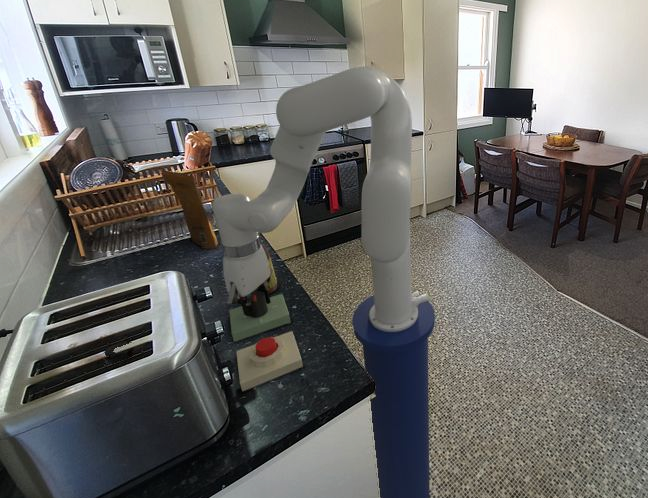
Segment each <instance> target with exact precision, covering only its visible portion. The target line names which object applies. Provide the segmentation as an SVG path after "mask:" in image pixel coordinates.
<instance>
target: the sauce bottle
mask: <svg viewBox="0 0 648 498" xmlns="http://www.w3.org/2000/svg"><path fill="white" fill-rule="evenodd" d="M260 237H261V236H259V242H260V244H261V245H262V247H263V249H264V251H265V254H266V256H267V259H268V263H269V267H271V268H272V269H273V273H272V275H271V277H270V281H269V289H268V292H269V295H270V294H272V293H274V292H275V291H277V289H278V279H277V277H276V273H275V269H274V266H273V263H272V258H271V255H270V253H269V248H268V247H267V245H266V244H264V243H263V242H262V240H261V238H260ZM257 288H258V287H257ZM257 288H256V289H257ZM256 289H255V290H254V291H256Z"/></svg>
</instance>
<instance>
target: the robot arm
mask: <svg viewBox="0 0 648 498" xmlns="http://www.w3.org/2000/svg"><path fill="white" fill-rule="evenodd" d="M275 115H276V119H277V122H278V124H279V127H278V129H277V132H276V134H275V137H274V139H273V141H272V144H271V145H270V149H269V154H270V155H271V157H272V158H273V160H274V161H275V164H274V169H273V172H272V175H271V177H270V180H269V181H268V184H267V186H266V188H265V189H264V191H262V192H261V193H260V194H259V195H257V197H255V198H253V199H250V198H249V197H248V196H247V195H246V194H243V193H228V194H224V195H221V196H219V197H217V198H215V199H214V200H213V202H212V204H211V207H212V213H213V216H214V220H215V223H216V227H217V230H218V234H219V237H220V242H221V244H222V248H223V252H224V256H223V258H222V274H223V278H224V279H223V280H224V284H225V287H226V291H227V294H228V297H227V301H226V302H227V304H229V305H241V306H242V309H243V312H244V315H245V316H250V317H255V316H256V311H255V307H254V303H251V292H254V291H255V289H256V288H257V287H258V288H257V289H256V291H262V292H264V294H265V298H266V303H267V304H269V303H270V302H271V301H270V297H271V296H270V294H269V292H268V289H269V281H270V277H271V275H272V273H273V269H274V268H273V269H272V268H271V267H269V263H268V259H267V256H266V254H265V251H264V249H263V247H262V245H261V244H260V242H259V237H261V236H260V235H261V234H268V233H271V232H273V231H275V230H276V229H277V228H278V227H279V226H280V224H281V223H282V222H283V221H284V220H285V218H286V217H287V216H288V215H289V214H290V213H291V212H292V210H293V208H294V207H295V205H296V203H297V201H298V198H299V196H300V195H301V192H302V190H303V188H304V186H305V183H306V180H307V178H308V175H309V173H310V169H311V166H312V164H313V161H314V159H315V157H316V155H317V153H318V151H319V148H320V146H321V144H322V141H323V139H324V138H325V135H326V134H327V132H328V131H329V132H330V131H331V130H335V129H337V128H340V127H344V126H346V125H349V124H353V123H356V122H359V121H362V120H364V119H367V118H369V117H370V125H371V126H370V162H369V168H368V171H367V173H366V175H365V178H364V180H363V183H362V188H361V229H360V230H361V231H360V233H361V234H360V235H361V245H362V248H363V250H364V253H366V255H367V256H368V257H369V259H370V267H371V268H370V269H371V279H372V290H373V295H374V305H373V307H372V308H371V310H370V313H369V318H370V322H371V324H372V325H373V326H374V327H375V328H377V329H379V330H381V331H385V332H398V331H402V330H405V329H407V328H409V327H410V326H412V325H413V324H414V323H415V322H416V320H417V318H418V308H417V306H418V305H419V304H420V303H424V302H426V301H429V299H430V298H429V295H428V294H427V293H424V294H422V295H421V294H420V292H419V291H418V290H417V291H412V264H411V263H412V262H411V261H412V260H411V259H412V258H411V257H412V255H411V207H412V206H411V205H412V190H413V189H412V188H413V180H412V167H411V166H412V147H413V144H412V143H413V142H412V139H413V118H412V117H413V116H412V111H411V107H410V103H409V99H408V97H407V95H406V94H405V91H404V89H403V88H402V87H401V86H400V85H399V84H398V82H397V81H396V80H395V79H394V78H393V77H391V76H390V75H388V74H387V73H386V72H384V71H383V70H380V69H379V68H377V67H373V66H368V65H363V66H357V67H352V68H349V69H346V70H343V71H339V72H337V73H335V74H331V75H329V76H326V77H324V78H321V79H318V80H315V81H311V82H310V83H306V84H303V85H299V86H296V87H292V88H290V89H287V90H286V91H284V93H282V94H281V96H280V97H279V98H278V100H277V103H276V108H275ZM412 292H414V293H412ZM420 295H421V296H420ZM418 296H420V297H418ZM416 297H417V298H416Z"/></svg>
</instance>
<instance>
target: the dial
mask: <svg viewBox="0 0 648 498" xmlns="http://www.w3.org/2000/svg"><path fill="white" fill-rule="evenodd" d="M251 303H254V307H255V311H256V316H255V317H252V318H258V317H261V316H263V315H265V314H266V313H267V312H268V307H267V303H266V298H265V294H264V292H262V291H255V290H254V291H252V292H251Z"/></svg>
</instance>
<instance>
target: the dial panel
mask: <svg viewBox="0 0 648 498" xmlns="http://www.w3.org/2000/svg"><path fill="white" fill-rule="evenodd" d="M269 297H270V301H271V302H270V303H269V304H267V307H268V312H267V313H266V314H265V315H263V316H261V317H258V318H252V317H250V316H245V315H244V312H243V309H242V305H241V306H238V307H235V308H232V309H229V310H228V312H229V322H230V331H231V332H230V333H231V336H232V339H233V342H238V341H241V340H244V339H246V338H249V337H252V336H255V335H258V334H261V333H264V332H267V331H269V330H272V329H276V328H278V327H281V326H284V325H287V324H289V323H291V316H290V313H289V310H288V307H287V304H286V301H285V298H284V295H283V293H280V294H276V295H274V296H269Z"/></svg>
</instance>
